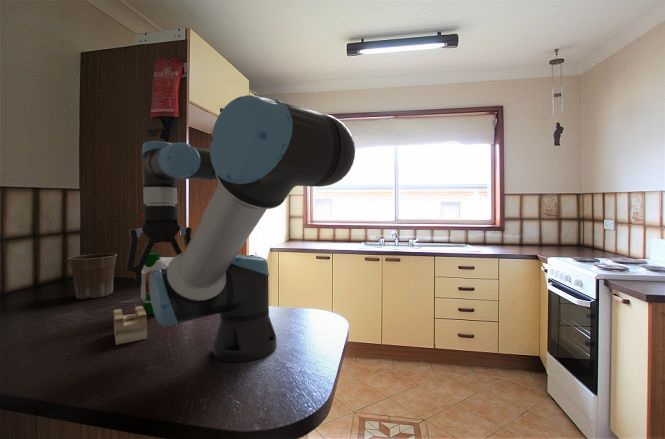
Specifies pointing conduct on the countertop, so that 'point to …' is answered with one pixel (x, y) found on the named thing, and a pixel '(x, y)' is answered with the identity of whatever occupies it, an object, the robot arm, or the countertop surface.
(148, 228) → the robot arm
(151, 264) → the milk carton
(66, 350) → the countertop surface
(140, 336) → the cradle
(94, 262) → the plant pot
